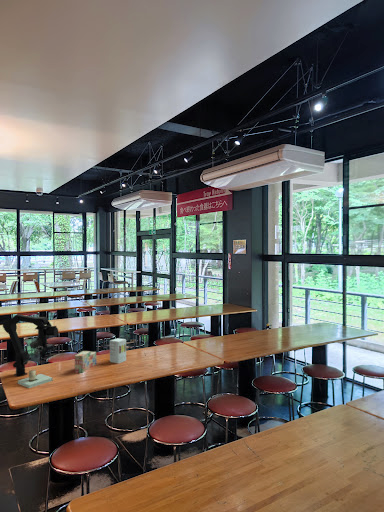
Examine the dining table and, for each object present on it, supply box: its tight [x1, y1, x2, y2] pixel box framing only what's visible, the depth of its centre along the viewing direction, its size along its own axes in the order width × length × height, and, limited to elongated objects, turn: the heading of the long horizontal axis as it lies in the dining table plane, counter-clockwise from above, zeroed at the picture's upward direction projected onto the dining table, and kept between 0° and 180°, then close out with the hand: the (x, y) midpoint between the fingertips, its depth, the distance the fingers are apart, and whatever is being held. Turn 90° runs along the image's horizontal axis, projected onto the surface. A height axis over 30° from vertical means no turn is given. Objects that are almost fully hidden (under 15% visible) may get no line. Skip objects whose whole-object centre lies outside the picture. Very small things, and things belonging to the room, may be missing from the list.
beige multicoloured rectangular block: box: [74, 350, 98, 374], centre depth 255 cm, size 21×6×12 cm, turn 169°
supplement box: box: [109, 337, 127, 364], centre depth 271 cm, size 10×9×17 cm
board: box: [17, 373, 53, 389], centre depth 227 cm, size 14×16×2 cm
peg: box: [28, 369, 37, 382], centre depth 225 cm, size 4×4×8 cm
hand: (42, 358), depth 240 cm, fingers closed
